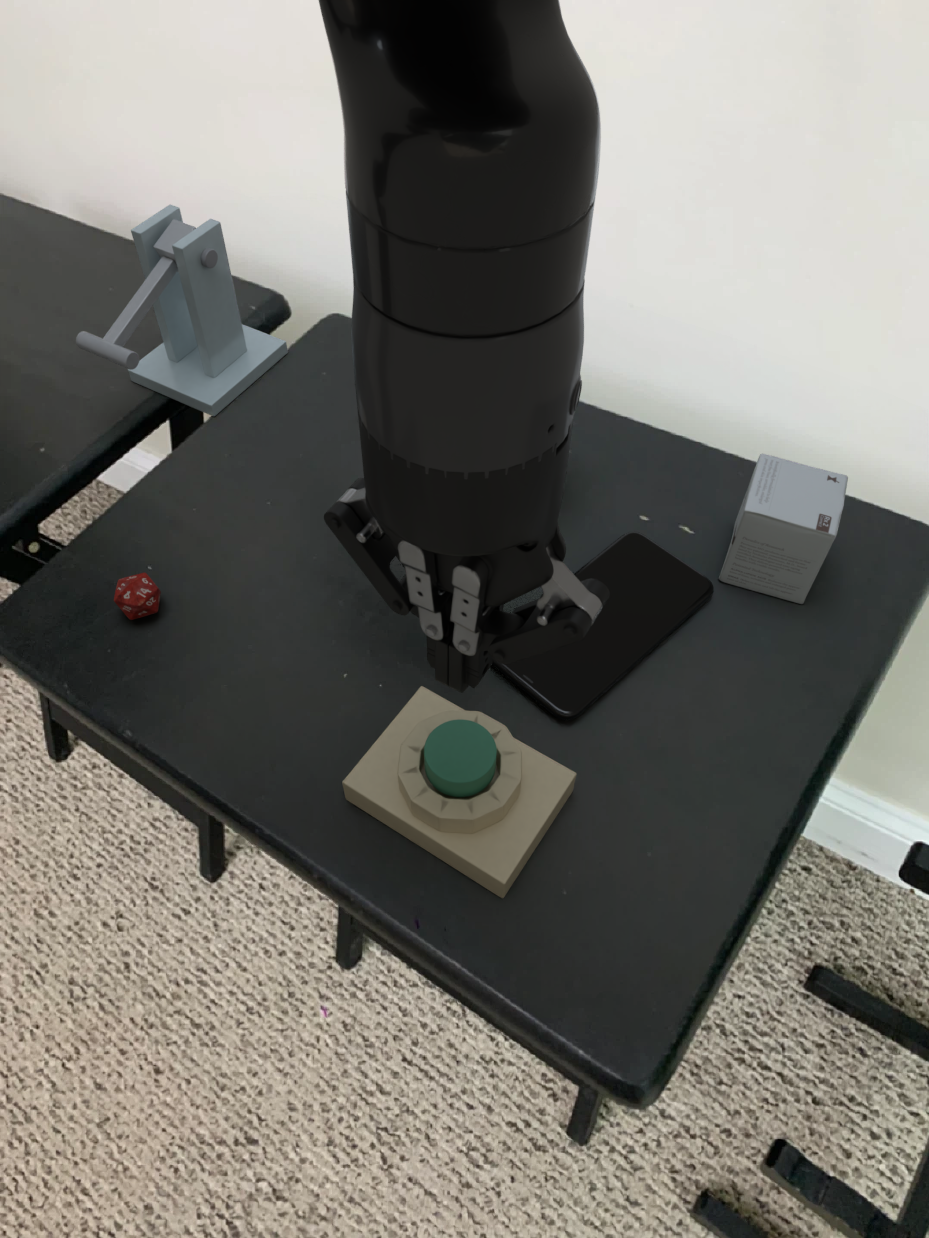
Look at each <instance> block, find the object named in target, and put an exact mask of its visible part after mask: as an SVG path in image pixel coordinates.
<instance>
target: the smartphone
mask: <svg viewBox="0 0 929 1238" xmlns="http://www.w3.org/2000/svg"><path fill="white" fill-rule="evenodd" d="M573 574H574V575H575V576H576V577H577V578H578V580H579V581H580V582H581V581H583V580H586V579H590V578H592V579H597V580H599V581H601V582H602V583H604V584H605V585H606V586H607V588H608V589H609V592H610V596H609V598H608V600H607V601H606V603H605V605H604V606H603V608H602V610H601V612H600V613H599V615H598V617H597V618H596V620H595V621H594V623H593V625H592V626H591V627H590V629H589V630H588V632H587V633H586V635H585V637H584V638H583V640H581V641H579V642H576V643H573V644H569V645H566V646H563V647H560V648H557V649H554V650H551V651H548V652H545V653H542V654H539V655H536V656H532V657H529V658H526V659H523V660H520V661H517V662H514V663H511V664H501V663H499V662H497V661H496V660H494V659H493V663H492V665H491V666H493V667H494V668H495V669H497V670H498V671H499V672H500V673H501V674H503V675H504V676H505V677H506V678H507V679H508V680H510V681H511V682H512V683H513V684H514V685H516V686H517V687H518V688H520V689H521V690H522V691H523V692H524V693H526V694H527V695H528V696H529V697H530V698H532V699H533V700H534V701H535V702H536V703H538V704H539V706H541V707H543V709H545V710H546V711H547V712H549V713H550V714H551V715H553V716H554V717H555V718H557V719H559V720H562V721H572V720H575V719H576V718H578V717H579V716H580V715H582V714H583V713H584V712H585V711H586V710H588V708H589V707H591V706H592V705H593V704H594V703H595V702H596V701H597V700H598V699H599V698H601V697H602V696H603V695H605V694H606V692H608V691H609V690H610V689H611V688H612V687H613V686H614V685H615V684H616V683H618V682H619V681H620V680H621V679H622V678H623V677H625V676H626V675H627V673H628V672H629V671H630V670H631V669H633V668H634V667H635V666H637V664H638V663H639V662H640V661H641V660H643V659H644V658H645V657H646V656H647V655H648V654H649V653H650V652H651V651H653V650H654V649H655V648H656V647H657V646H658V645H660V643H661V642H662V641H664V640H665V639H666V638H668V636H669V635H670V634H671V633H672V632H674V631H675V630H676V629H677V628H678V627H679V626H680V625H681V624H683V622H685V621H686V620H687V619H689V617H691V616H692V615H693V614H694V613H695V612H696V611H697V610H698V609H699V608H700V607H701V606H703V605H704V604H705V602H707V601H708V600H709V599H710V598H711V596H712V595H713V593H714V584H713V582H712V581H711V580H710V579H709V578H708V577H707V576H706V575H704V574H703V573H701V572H700V571H698V570H696V569H695V568H694V567H693V566H691V565H689V564H688V563H686V562H685V561H684V560H682V559H681V558H679V557H678V556H676V555H675V554H673V553H671V552H670V551H669V550H667V549H666V548H664V547H663V546H661V545H660V544H659V543H657V542H655V541H654V540H652V539H651V538H650V537H648V536H647V535H645V534H643V533H642V532H639V531H628V532H625V533H624V534H622V535H621V536H619V537H618V538H617V539H616V540H615V541H613V542H612V543H610V544H609V545H608V546H607V547H606V548H605V549H603V550H602V551H601V552H599V553H598V554H597V555H596V556H594V557H593V558H591V559H590V560H589V561H588V562H587V563H585V564H584V565H583V566H582V567H580V568H579V569H578V570H577V571H575V572H574V573H573Z"/></svg>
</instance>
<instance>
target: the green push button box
mask: <svg viewBox="0 0 929 1238" xmlns="http://www.w3.org/2000/svg"><path fill="white" fill-rule="evenodd" d="M457 719H463V720H470V721H473V722H476V723H478V724H480V725H481V726H483V727H484V728H485V729H487V730H488V731H489V733H490V734H491V735H492V737H493V739H494V741H495V743H496V748H497V756H496V768H495V774H494V776H493V779H492V780H491V782H490V783H489V785H488V786H487V787H486V788H485V789H483V790H482V791H481V792H479V793H477V794H475V795H472V796H468V797H453V796H449V795H446V794H444V793H442V792H440V791H438V790H437V789H436V788H435V787H434V786H433V785H432V784H431V783H430V781H429V780H428V778H427V776H426V772H425V764H424V746H425V742H426V740H427V738H428V736H429V735H430V733H431V732H432V731H433V730H434V729H435V728H436V727H438V726H439V725H441V724H443V723H445V722H447V721H451V720H457ZM576 779H577V772H575V771H574V770H572V769H571V768H568V767H567V766H565V765H563V764H561V763H559V762H558V761H556V760H554V759H552V758H550V757H549V756H547V755H545V754H544V753H541V752H540V751H538V750H536V749H534V748H533V747H531V746H529V745H528V744H526V743H524V742H522V741H520V740H519V739H517V738H515V737H513V735H512V733H511V731H510V729H508V727H507V726H506V725H505V724H503V723H502V722H500V721H498V720H496V719H494V718H492V717H490V716H489V715H487V714H485V713H483V711H478V710H466V709H464V708H462V707H460V706H458V705H457V704H454V703H453V702H451V701H449V700H447V698H445V697H442V696H441V695H439V694H437V693H435V692H434V691H432V690H431V689H428V688H427V687H424V686H423V685H421V686H420V687H419V688H418V689H417V690H416V691H415V693H414V694H413V695H412V696H411V697H410V699H409V700H408V701H407V702H406V704H405V705H404V706H403V707H402V709H401V710H400V711H399V712H398V714H396V716H395V717H394V718H393V720H392V721H391V722H390V723H389V725H387V727H385V729H384V731H382V733H381V734H380V735H379V737H377V739H376V740H375V741H374V743H373V744H372V745H371V746H370V747H369V749H368V750H367V751H366V752H365V754H364V755H363V756H362V757H361V759H359V761H358V762H357V763H356V764H355V766H354V767H353V768H352V769H351V770H350V772H349V773H348V775H346V777H345V778H344V779H343V780H342V789H343V792H344V798H345V800H346V801H347V802H349V803H350V804H352V805H354V806H356V808H359V809H361V811H363V812H365V813H366V814H368V815H370V816H371V817H373V818H374V819H376V820H378V821H379V822H381V823H382V824H383V825H385V826H387V827H388V828H390V829H392V830H393V831H395V832H396V833H398V834H400V835H401V836H403V837H404V838H405V839H408V840H409V841H410V842H412V843H414V844H415V845H416V846H419V847H420V848H421V849H423V850H425V851H426V852H428V853H430V854H431V855H432V856H434V857H436V858H437V859H439V860H440V861H442V862H444V863H445V864H447V865H448V866H450V867H452V868H453V869H455V870H456V871H458V872H459V873H461V874H462V875H464V876H466V877H467V878H469V879H471V880H472V881H473V882H475V883H477V884H478V885H480V886H481V887H483V888H485V889H487V890H488V892H489V891H490V892H491V893H492V894H494V895H496V896H497V897H499V898H500V899H504V898H505V897H506V895H507V893H508V892H509V891H510V889H511V887H512V886H513V884H514V883H515V881H516V880H517V879H518V877H519V875H520V874H521V872H522V870H523V869H524V868H525V866H526V864H527V863H528V861H529V860H530V859H531V857H532V855H533V853H534V852H535V851H536V849H537V848H538V846H539V844H540V843H541V842H542V840H543V838H544V836H545V835H546V833H547V832H548V830H549V829H550V827H551V826H552V824H553V823H554V821H555V819H556V818H557V816H558V815H559V813H560V812H561V810H562V808H563V807H564V806H565V804H566V803H567V802H568V800H569V798H570V797H571V795H572V794H573V792H574V788H575V784H576Z"/></svg>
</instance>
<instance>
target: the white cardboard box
mask: <svg viewBox="0 0 929 1238" xmlns="http://www.w3.org/2000/svg"><path fill="white" fill-rule="evenodd" d="M756 461H757V462H756V463H755V466H754V470H753V472H752V475H751V478H750V481H749V483H748V486H747V489H746V492H745V495H744V496H743V500H742V503H741V505H740V508H739V510H738V513H737V516H736V519H735V522H734V526H733V530H732V536H731V540H730V543H729V546H728V549H727V551H726V552H727V553H726V556H725V559H724V562H723V565H722V568H721V571H720V573H719V576H718V580H719V581H720V582H722V583H724V584H728V585H732V586H735V587H739V588H742V589H745V590H749V591H752V592H756V593H760V594H763V595H767V596H771V597H774V598H778V599H781V600H784V601H788V602H792V603H795V604H799V605H803V604H804V603H805V601H806V599H807V596H808V595H809V592H810V590H811V588H812V586H813V584H814V582H815V580H816V578H817V576H818V574H819V572H820V570H821V568H822V566H823V564H824V562H825V559H826V558H827V556H828V554H829V552H830V550H831V548H832V546H833V543H834V541H835V540H836V538H837V535H838V532H839V531H838V530H839V527H840V522H841V519H842V513H843V510H844V506H845V499H846V494H847V487H848V481H849V477H848V475H847V474H843V473H840V472H839V473H838V472H834V471H831V470H826V469H823V468H820V467H819V468H818V467H815V466H812V465H808V464H803V463H800V462H796V461H793V460H789V459H786V458H782V457H778V456H775V455H772V454H771V455H770V454H767V453H759V456H758V458H757V460H756Z"/></svg>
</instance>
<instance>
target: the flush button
mask: <svg viewBox="0 0 929 1238" xmlns="http://www.w3.org/2000/svg"><path fill="white" fill-rule="evenodd" d="M496 756H497V748H496V743H495V741H494V739H493V737H492V735H491V734H490V733H489V731H488V730H487V729H485V728H484V727H483V726H481V725H480V724H478V723H476V722H473V721H470V720H463V719H457V720H451V721H447V722H445V723H443V724H441V725H439V726H438V727H436V728H435V729H434V730H433V731H432V732H431V733H430V735H429V736H428V738H427V740H426V742H425V746H424V764H425V772H426V776H427V778H428V780H429V781H430V783H431V784H432V785H433V786H434V787H435V788H436V789H437V790H438V791H440V792H442V793H444V794H446V795H449V796H453V797H468V796H472V795H475V794H477V793H479V792H481V791H482V790H483V789H485V788H486V787H487V786H488V785H489V783H490V782H491V780H492V779H493V776H494V774H495V768H496Z"/></svg>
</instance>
